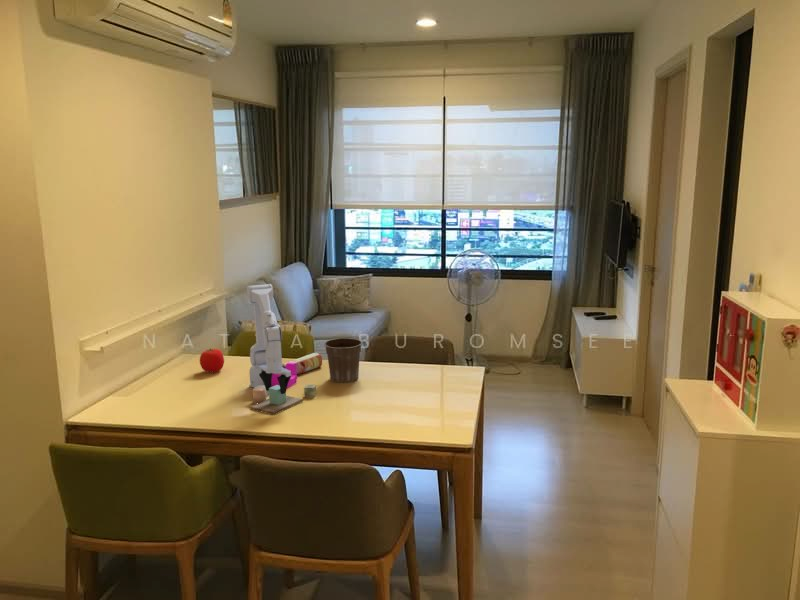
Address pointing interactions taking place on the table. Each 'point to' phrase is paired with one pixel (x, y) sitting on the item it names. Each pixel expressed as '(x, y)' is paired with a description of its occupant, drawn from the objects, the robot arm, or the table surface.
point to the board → (274, 408)
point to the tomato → (212, 360)
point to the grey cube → (263, 387)
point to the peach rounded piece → (259, 394)
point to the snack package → (307, 363)
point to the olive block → (310, 390)
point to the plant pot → (343, 358)
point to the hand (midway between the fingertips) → (276, 391)
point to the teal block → (276, 395)
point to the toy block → (293, 378)
